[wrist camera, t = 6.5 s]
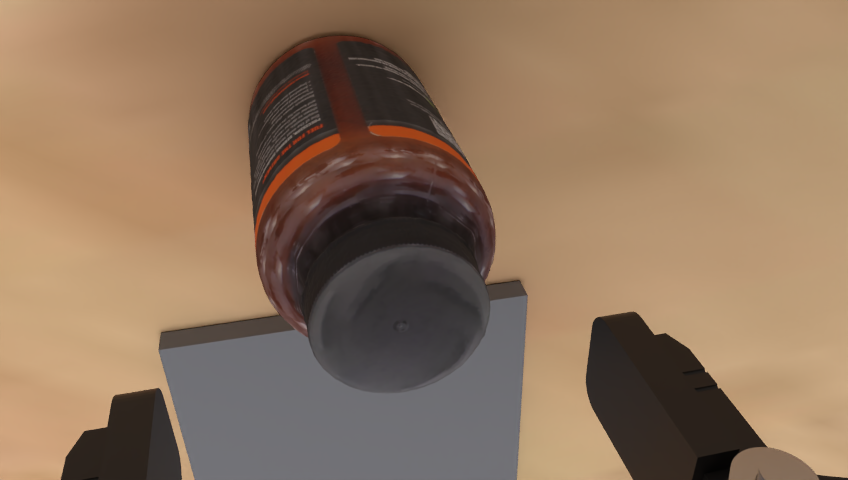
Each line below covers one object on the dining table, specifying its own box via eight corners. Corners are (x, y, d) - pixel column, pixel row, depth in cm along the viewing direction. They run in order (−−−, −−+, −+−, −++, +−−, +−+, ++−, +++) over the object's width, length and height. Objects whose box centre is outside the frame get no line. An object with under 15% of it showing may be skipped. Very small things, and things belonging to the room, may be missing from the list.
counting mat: (519, 280, 31) (527, 295, 30) (509, 480, 37) (515, 497, 36) (160, 333, 28) (158, 350, 27) (216, 536, 35) (216, 555, 34)
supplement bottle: (231, 179, 26) (228, 419, 16) (268, 7, 23) (289, 176, 14) (397, 209, 28) (480, 438, 18) (449, 54, 25) (577, 230, 16)
